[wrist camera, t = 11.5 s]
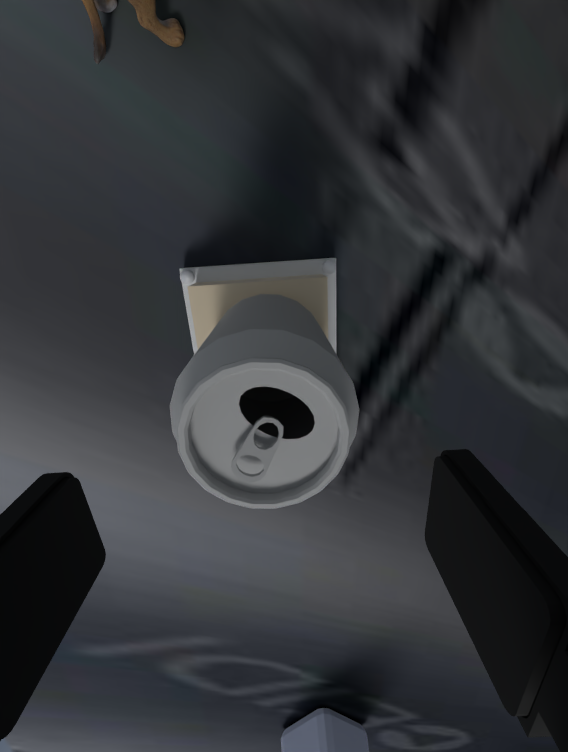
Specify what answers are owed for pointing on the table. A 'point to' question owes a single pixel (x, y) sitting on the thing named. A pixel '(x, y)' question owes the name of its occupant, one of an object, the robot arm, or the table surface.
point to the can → (264, 406)
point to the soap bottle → (325, 734)
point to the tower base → (266, 272)
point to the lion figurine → (147, 18)
